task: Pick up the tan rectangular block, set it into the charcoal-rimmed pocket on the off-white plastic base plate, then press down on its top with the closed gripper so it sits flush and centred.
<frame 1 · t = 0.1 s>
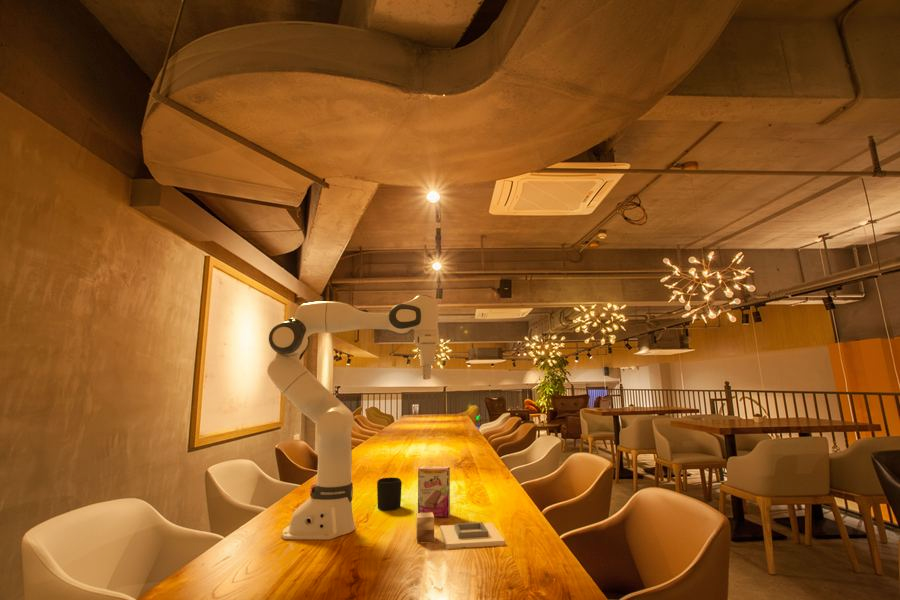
hand: (426, 379, 156), 48 cm above the table, tool pointing down, fingers open, 8 cm apart
candy bar box: (434, 516, 157), on the table
base plate: (470, 536, 135), on the table
tan rectangular block: (425, 539, 133), on the table
pen holder: (389, 508, 168), on the table
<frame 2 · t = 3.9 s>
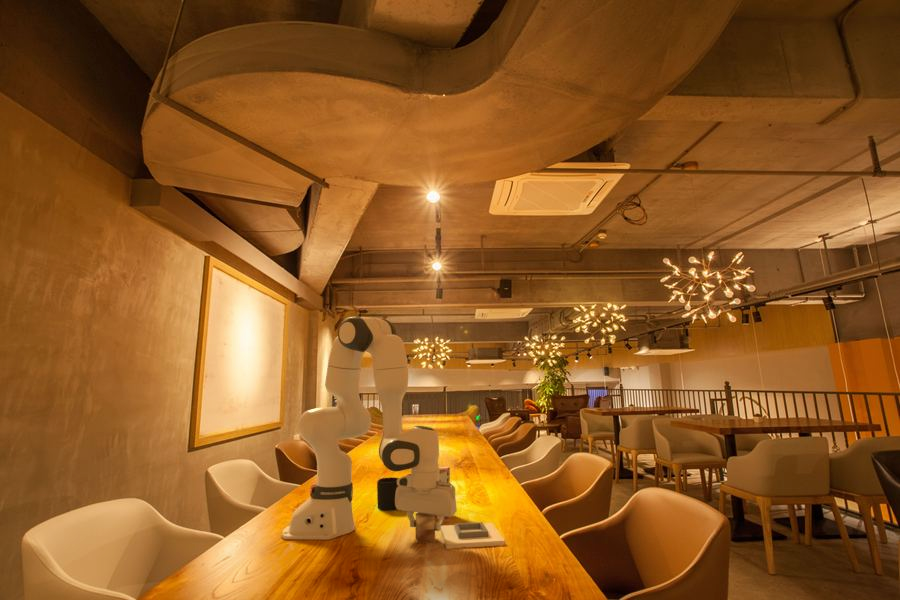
hand: (425, 528, 133), 3 cm above the table, tool pointing down, fingers closed on tan rectangular block, 7 cm apart
tan rectangular block: (425, 539, 133), on the table, touching gripper
everything else where it was.
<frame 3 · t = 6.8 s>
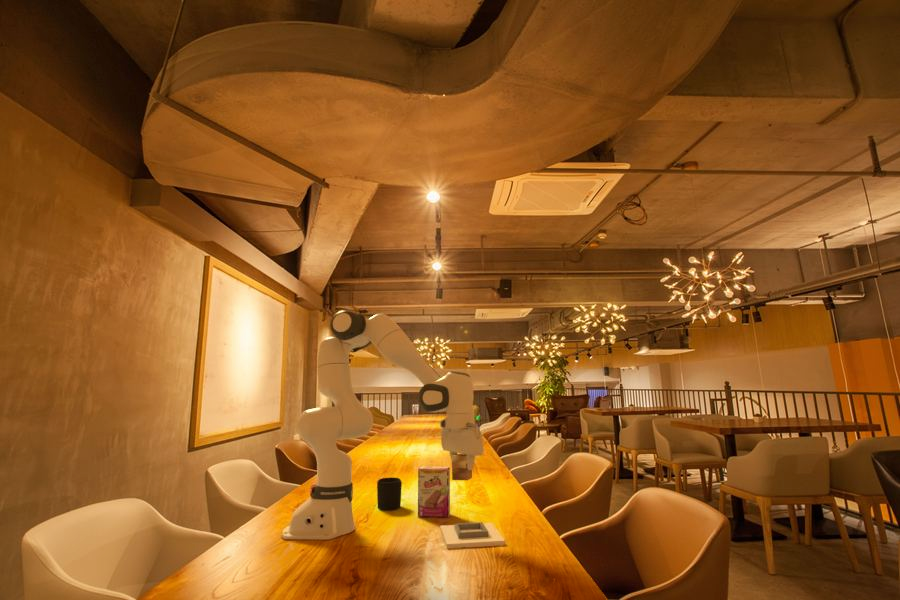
hand: (462, 468, 138), 20 cm above the table, tool pointing down, fingers closed on tan rectangular block, 7 cm apart
tan rectangular block: (462, 478, 137), point 17 cm above the table, touching gripper
everything else where it was.
when the fingers open (6 cm above the table, at t = 9.5 s): tan rectangular block drops 2 cm, resting on base plate.
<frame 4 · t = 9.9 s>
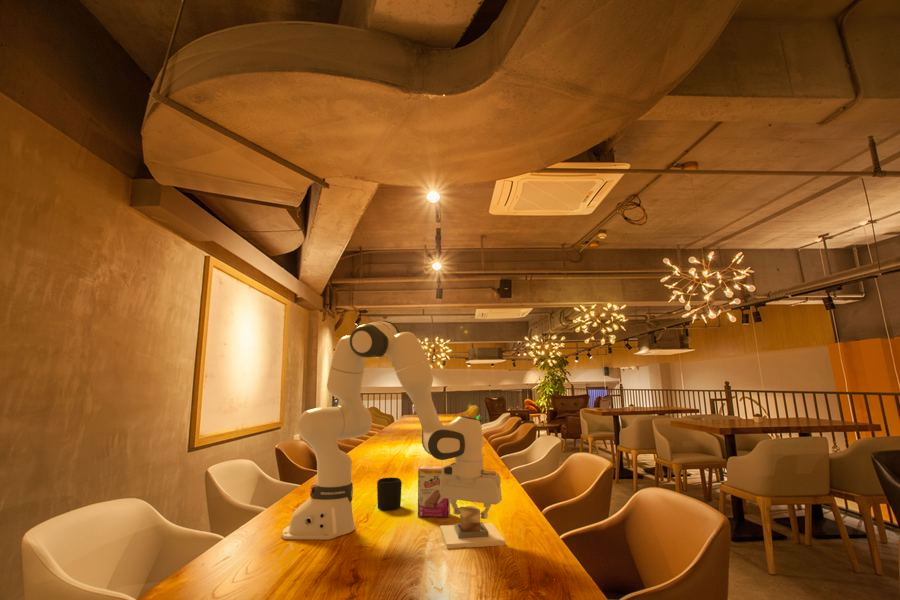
hand: (470, 516, 136), 6 cm above the table, tool pointing down, fingers open, 8 cm apart
tan rectangular block: (470, 532, 135), point 1 cm above the table, touching base plate
everything else where it was.
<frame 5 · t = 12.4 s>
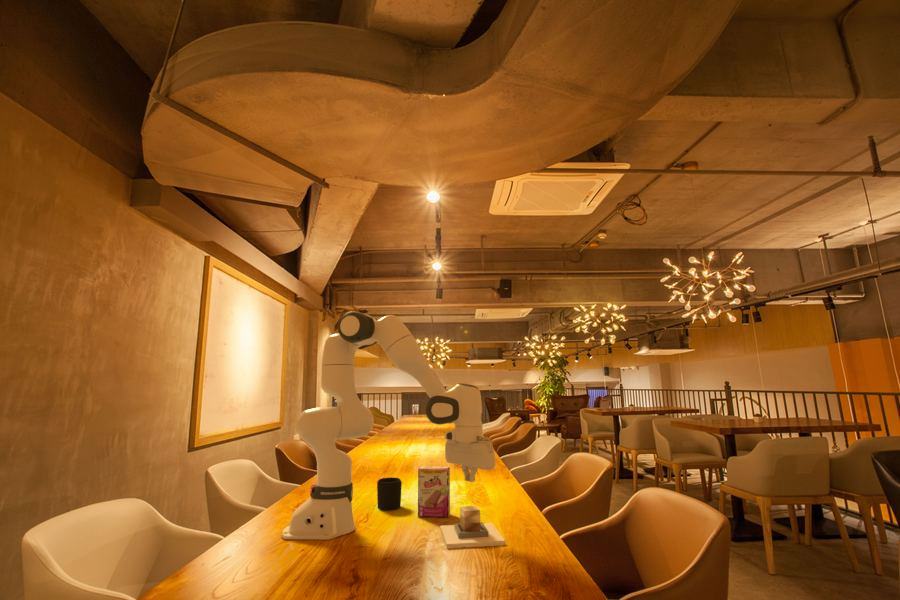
hand: (469, 481, 138), 16 cm above the table, tool pointing down, fingers closed
nothing on the table moved.
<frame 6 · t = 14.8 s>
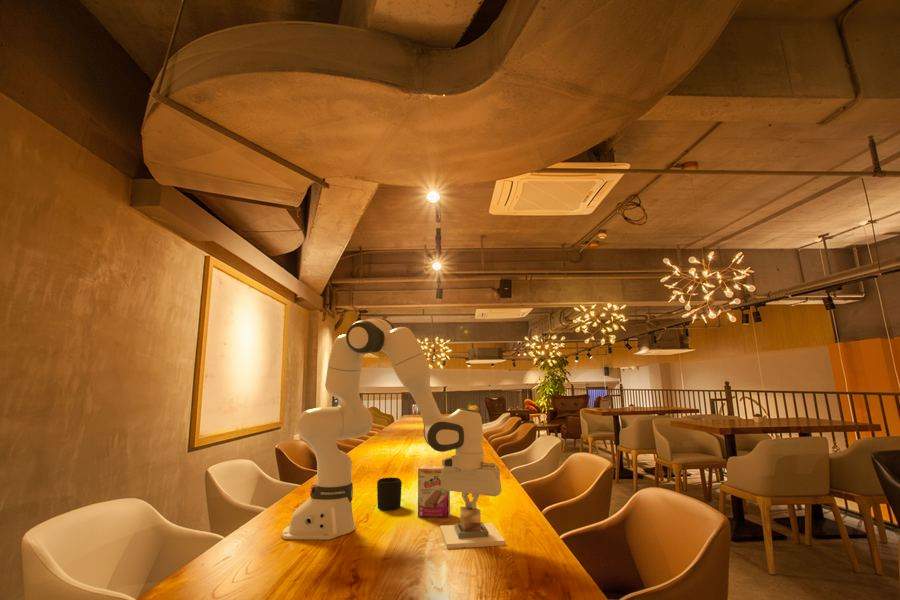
hand: (470, 508, 136), 8 cm above the table, tool pointing down, fingers closed, pressing on tan rectangular block
tan rectangular block: (470, 532, 135), point 1 cm above the table, touching base plate, gripper
everything else where it was.
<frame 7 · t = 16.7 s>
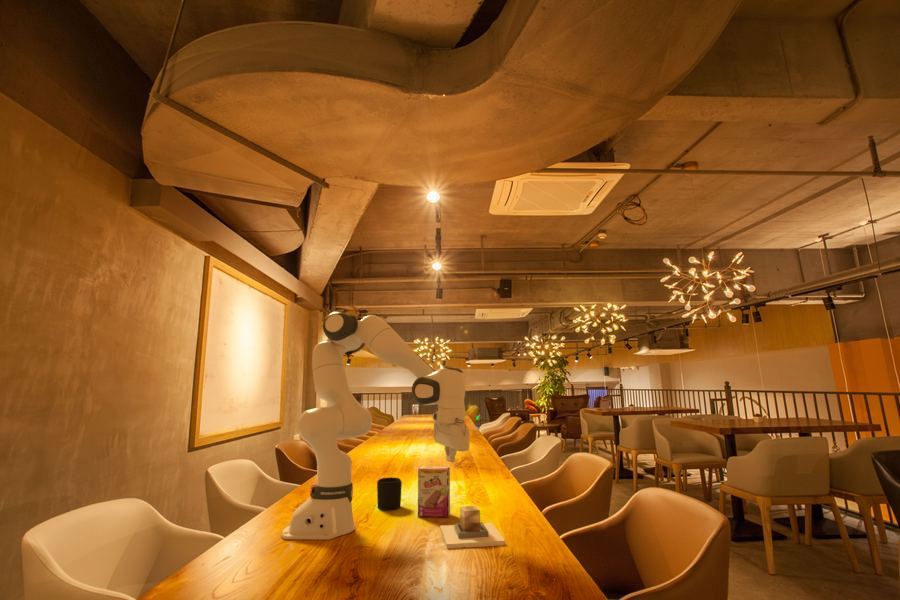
hand: (450, 461, 141), 22 cm above the table, tool pointing down, fingers closed
tan rectangular block: (470, 532, 135), point 1 cm above the table, touching base plate
everything else where it was.
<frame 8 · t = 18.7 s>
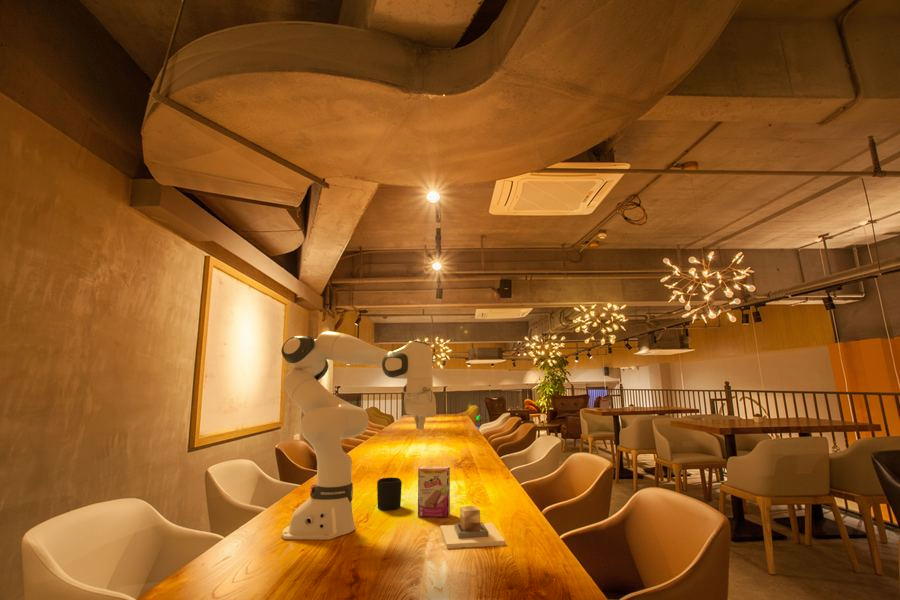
hand: (419, 429, 148), 31 cm above the table, tool pointing down, fingers closed
nothing on the table moved.
at the end: tan rectangular block 0.2 cm off-centre on the base plate, point 1.2 cm above the base plate's base; tan rectangular block tilted 0°; the gripper is holding nothing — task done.
